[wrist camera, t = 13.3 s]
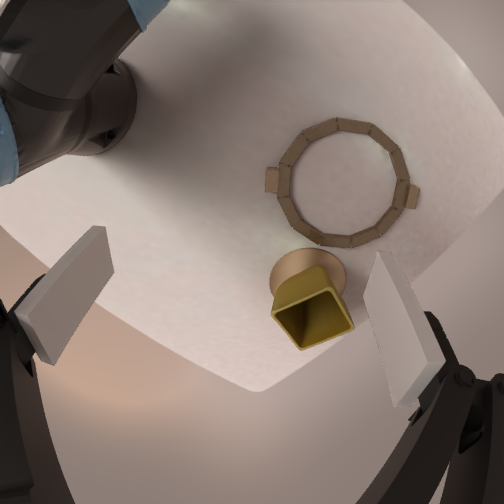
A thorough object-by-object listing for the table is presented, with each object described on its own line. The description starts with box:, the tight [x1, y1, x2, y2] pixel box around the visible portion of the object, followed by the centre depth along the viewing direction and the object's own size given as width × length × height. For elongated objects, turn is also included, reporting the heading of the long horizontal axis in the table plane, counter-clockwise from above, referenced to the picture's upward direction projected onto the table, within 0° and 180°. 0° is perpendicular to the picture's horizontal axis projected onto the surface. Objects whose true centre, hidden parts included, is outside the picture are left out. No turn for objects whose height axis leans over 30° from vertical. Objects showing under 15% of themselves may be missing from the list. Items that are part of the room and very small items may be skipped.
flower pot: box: [271, 265, 355, 350], centre depth 43 cm, size 9×9×9 cm
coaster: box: [270, 248, 346, 298], centre depth 47 cm, size 12×12×1 cm
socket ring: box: [265, 117, 420, 248], centre depth 38 cm, size 21×18×2 cm
